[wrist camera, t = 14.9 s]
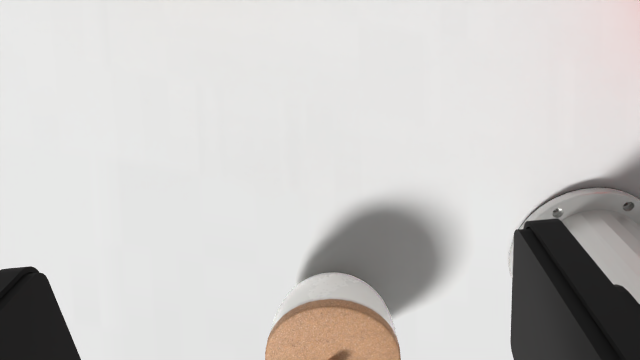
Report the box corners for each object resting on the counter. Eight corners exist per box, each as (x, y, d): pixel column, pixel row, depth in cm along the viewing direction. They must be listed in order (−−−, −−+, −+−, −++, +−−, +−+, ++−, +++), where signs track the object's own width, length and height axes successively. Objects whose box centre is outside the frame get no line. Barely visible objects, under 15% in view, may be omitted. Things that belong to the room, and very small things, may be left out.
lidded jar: (263, 260, 46) (246, 332, 37) (382, 242, 44) (392, 312, 36) (290, 351, 50) (280, 434, 41) (399, 337, 49) (411, 420, 40)
